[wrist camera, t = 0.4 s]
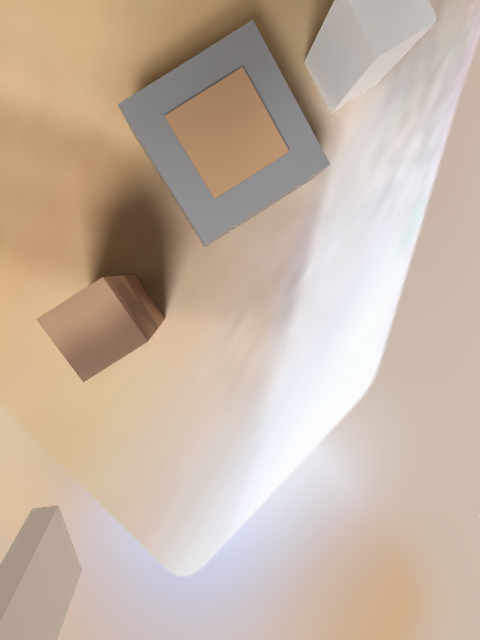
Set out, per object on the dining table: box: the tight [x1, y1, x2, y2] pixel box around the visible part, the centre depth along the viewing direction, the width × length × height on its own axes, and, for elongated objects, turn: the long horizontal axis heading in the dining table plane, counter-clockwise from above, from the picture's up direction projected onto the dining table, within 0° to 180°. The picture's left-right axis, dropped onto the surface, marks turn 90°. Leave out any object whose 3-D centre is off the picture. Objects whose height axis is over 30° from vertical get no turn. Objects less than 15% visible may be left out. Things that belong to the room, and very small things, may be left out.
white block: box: [304, 0, 438, 113], centre depth 29 cm, size 5×5×9 cm
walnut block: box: [36, 274, 165, 382], centre depth 29 cm, size 5×5×11 cm
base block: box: [118, 20, 330, 247], centre depth 31 cm, size 12×12×5 cm
